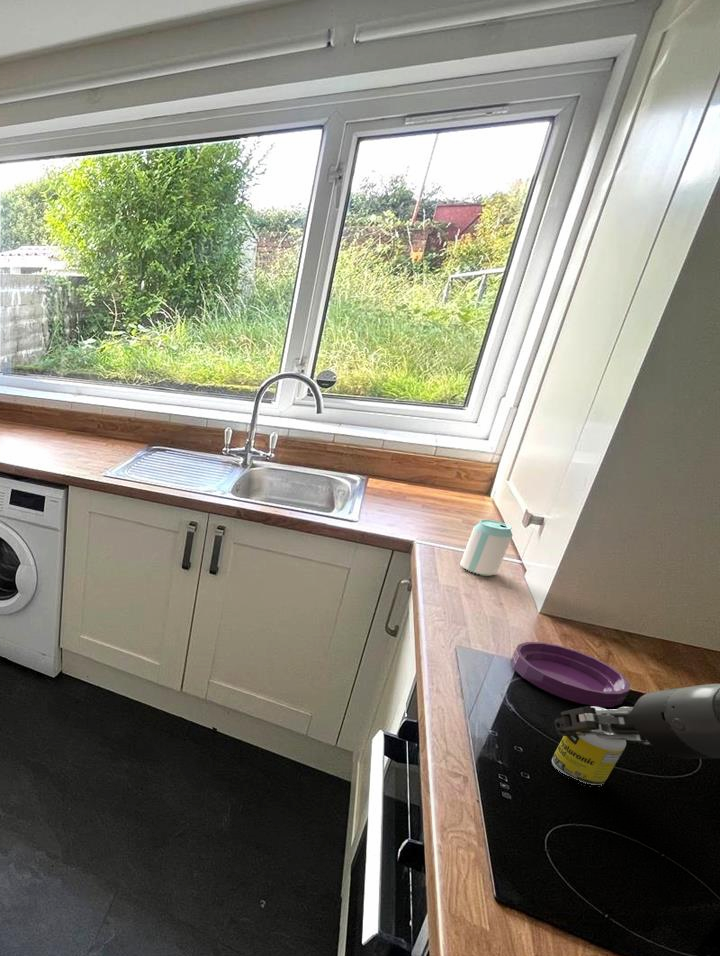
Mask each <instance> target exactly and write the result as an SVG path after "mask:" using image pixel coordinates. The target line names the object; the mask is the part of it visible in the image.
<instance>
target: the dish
mask: <svg viewBox="0 0 720 956" xmlns="http://www.w3.org/2000/svg"><path fill="white" fill-rule="evenodd" d="M509 661H510V665H511V666H512V669H513V670H514V671H515V672H516V673H517V674H518V675H520V677H521V678H522V679H524V680H526V681H528V682H529V683H530V684H532V685H534V686H535V687H537V688H538V689H540V690H542V691H544V692H546V693H548V694H551V695H553V696H555V697H558V698H561V699H564V700H566V701H570V702H573V703H577V704H580V705H585V706H595V707H601V708H614V707H616V706H619V705H622V704H623V703H624V701H625V699H626V698H627V696H628V694H629V692H630V688H631V683H630V682H629V680H628V679H627V678H626V676H625V675H624V674H622V673H621V672H619V670H617V669H616V668H614V667H613V666H611V665H610V664H608V663H606V662H604V661H602V660H600V659H598V658H596V657H595V656H591V655H589V654H586V653H585V652H584V653H583V652H581V651H579V650H576V649H572V648H569V647H565V646H562V645H559V644H554V643H547V642H543V641H542V642H541V641H526V642H522V643H518V645H517V646H516V647H515V650H514V652H513V654H512V656H511V659H510V660H509Z"/></svg>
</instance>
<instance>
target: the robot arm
mask: <svg viewBox="0 0 720 956" xmlns="http://www.w3.org/2000/svg"><path fill="white" fill-rule="evenodd" d="M560 715H561V717H560V718H559V717H557V718H556V719H555V720H554V721H553V722H554V728H555V732H556V734H557V735H558V736H562V737H563V736H577V735H581V736H586V735H596V736H597V737H599V738H603V739H608V740H626V744H635V743H638V744H642V745H646V746H653V747H654V748H655V749H657V750H658V751H660V752H662V753H664V754H666V755H667V756H670V757H674V758H677V759H682V760H708V759H709V760H710V759H712V760H717V759H720V683H705V684H698V685H697V684H696V685H690V686H683V687H676V688H668V689H661V690H653V691H649V692H647V693H644V694H643V695H641V696H640V697H639V698H638V699H637V701H636V702H635V704H634V706H621V707H618V708H616V709H607V710H596V709H595V708H592V707H591V706H590V705H585V706H582V707H577V708H573V709H569V710H564V711H560ZM608 724H609V725H610V728H611V730H612V731H613V732H614V733H616V734H611V733H610V732H609V728H608Z"/></svg>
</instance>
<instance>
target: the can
mask: <svg viewBox="0 0 720 956" xmlns="http://www.w3.org/2000/svg"><path fill="white" fill-rule="evenodd" d="M512 538H513V532H512V526H511V525H509V524H507V523H505V522H501V521H498V520H493V519H481V520H480V521H479V523H477V524H476V525H474V526H473V529H472V531H471V533H470V536H469V539H468V542H467V545H466V547H465V550H464V553H463V555H462V557H461V560H460V563H459V565H460V566H461V568H463V569H464V568H465V569H466V570H465V569H464V570H465V571H466V572H468V573H471V572H473V573H472V574H474V573H476V574H474V575H477V576H483V577H491V576H494V575H497V574H498V572H499V570H500V567H501V565H502V563H503V560H504V557H505V555H506V553H507V550H508V548H509V545H510V543H511V541H512ZM467 570H468V571H467ZM469 571H471V572H469ZM478 574H480V575H478Z"/></svg>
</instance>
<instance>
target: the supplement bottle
mask: <svg viewBox="0 0 720 956" xmlns="http://www.w3.org/2000/svg"><path fill="white" fill-rule="evenodd" d="M590 707H592V708H595V709H596V710H608V709H606V708H605V707H597V706H592V705H590ZM608 728H609V732H610V733H611V734H616V733H614V732H613V731H612V730H611V728H610V725H609V724H608ZM626 747H627V743H626V740H608V739H603V738H599V737H597V736H596V735H586V736H581V735H577V736H562V738H561V740H560V742H559V744H558V746H557V748H556V750H555V751H554V754H553V755H552V758H551V765H552V766H553V767H554V769H555V770H556V769H557V770H558V771H557V770H556V771H557V772H559V771H560V772H561V773H563V774H565V775H567V776H570V777H572V778H574V779H576V780H579V781H580V782H583V783H585V784H586V783H587V784H591V785H601V786H603V785H604V784H605V783H606V781H607V779H608V778H609V776H610V774H611V773H612V771H613V769H614V767H615V766H616V764H617V762H618V761H619V759H620V757H621V756H622V754H623V752H624V750H625V748H626ZM560 772H559V773H560ZM561 773H560V774H561ZM602 784H603V785H602Z"/></svg>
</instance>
